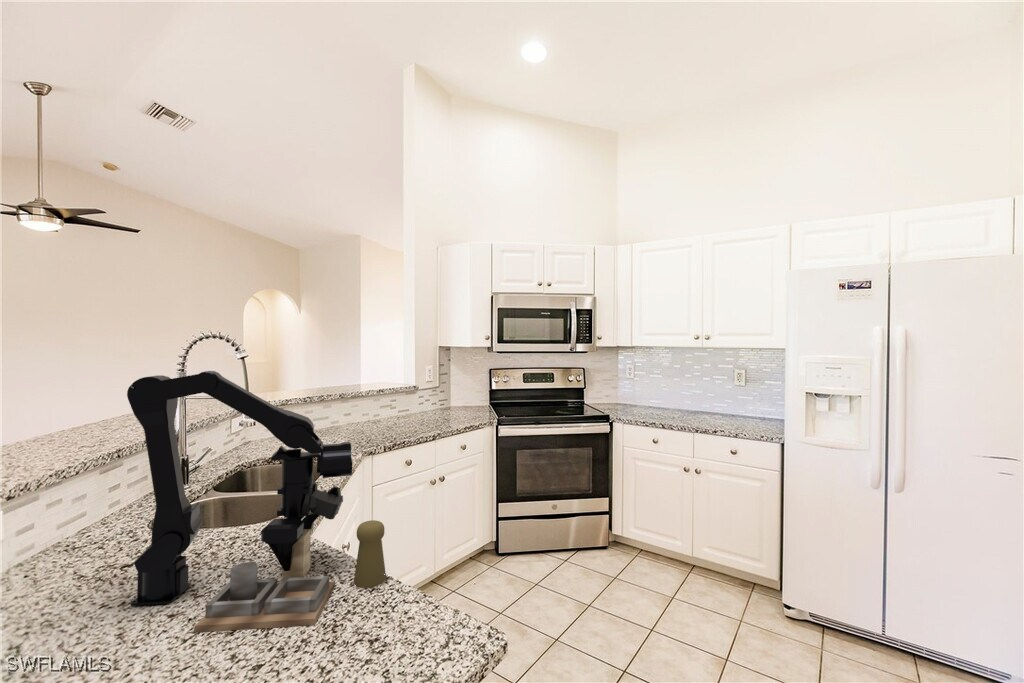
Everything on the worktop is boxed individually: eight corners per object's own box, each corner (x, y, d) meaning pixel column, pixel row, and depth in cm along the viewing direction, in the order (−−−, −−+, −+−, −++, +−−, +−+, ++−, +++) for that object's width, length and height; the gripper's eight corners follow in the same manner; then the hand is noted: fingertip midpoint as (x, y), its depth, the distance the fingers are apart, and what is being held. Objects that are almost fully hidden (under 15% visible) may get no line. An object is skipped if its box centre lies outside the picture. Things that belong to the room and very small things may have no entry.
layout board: (194, 632, 71) (195, 586, 71) (232, 592, 83) (233, 553, 83) (314, 624, 73) (315, 580, 73) (334, 586, 85) (335, 549, 85)
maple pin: (281, 579, 88) (282, 537, 88) (289, 569, 92) (290, 529, 92) (303, 578, 88) (303, 536, 88) (309, 568, 92) (310, 529, 92)
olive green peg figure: (376, 589, 84) (377, 529, 84) (347, 586, 85) (348, 527, 85) (391, 574, 90) (392, 518, 90) (363, 571, 91) (364, 515, 91)
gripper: (325, 493, 82) (324, 580, 81) (350, 467, 100) (349, 538, 100) (260, 495, 81) (258, 584, 80) (297, 468, 99) (296, 541, 99)
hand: (295, 559), depth 90 cm, fingers open, 9 cm apart
